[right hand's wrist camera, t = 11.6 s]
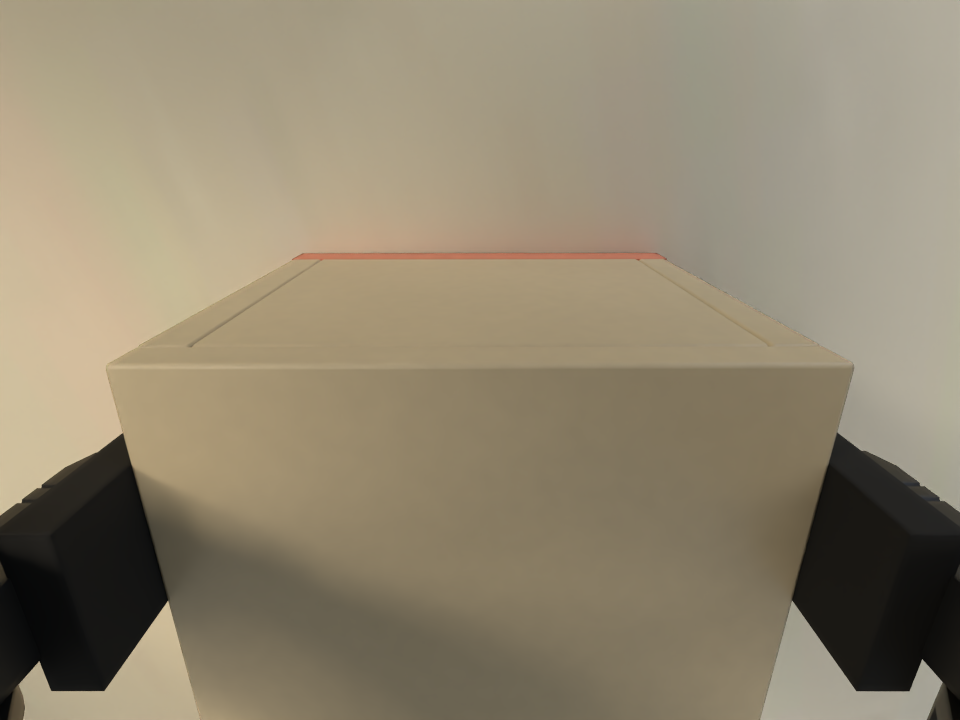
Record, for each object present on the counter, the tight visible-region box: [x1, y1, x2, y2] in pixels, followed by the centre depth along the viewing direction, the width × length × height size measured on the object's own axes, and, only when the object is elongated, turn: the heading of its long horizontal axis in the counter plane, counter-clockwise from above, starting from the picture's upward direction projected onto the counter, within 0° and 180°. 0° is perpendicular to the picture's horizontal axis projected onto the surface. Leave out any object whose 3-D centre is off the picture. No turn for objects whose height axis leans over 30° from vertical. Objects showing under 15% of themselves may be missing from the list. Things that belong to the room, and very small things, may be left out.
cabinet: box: [106, 253, 854, 720], centre depth 15 cm, size 18×11×9 cm, turn 0°
